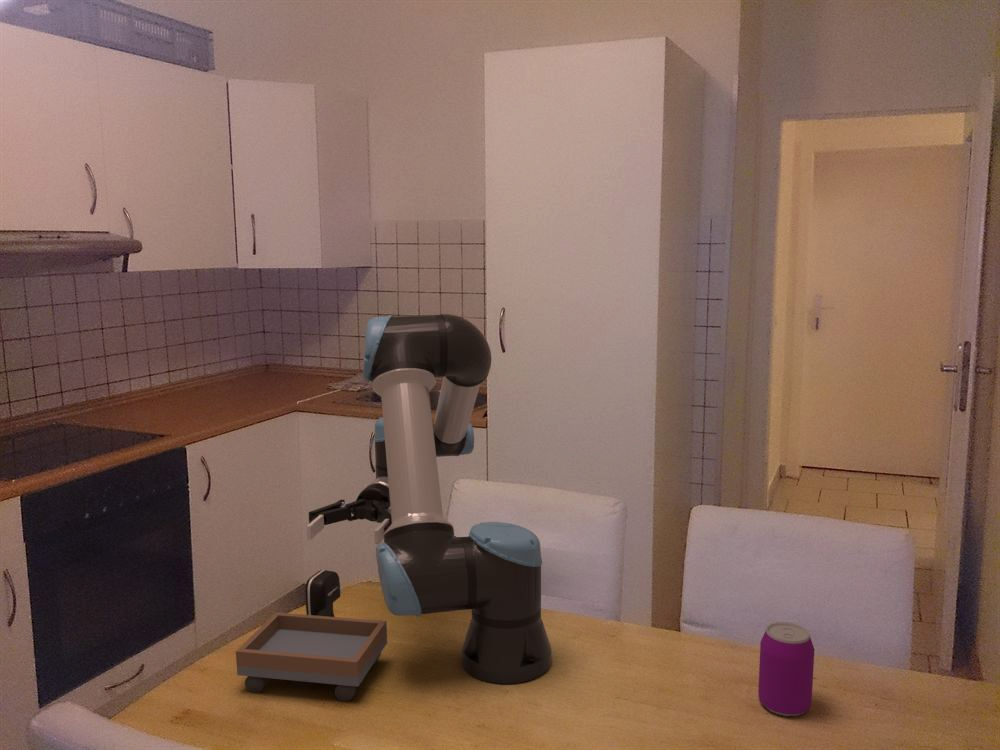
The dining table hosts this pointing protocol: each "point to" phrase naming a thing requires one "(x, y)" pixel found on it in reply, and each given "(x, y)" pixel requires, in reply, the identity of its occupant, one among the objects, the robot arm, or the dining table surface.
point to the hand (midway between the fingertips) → (342, 535)
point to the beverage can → (786, 669)
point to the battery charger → (322, 593)
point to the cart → (312, 651)
